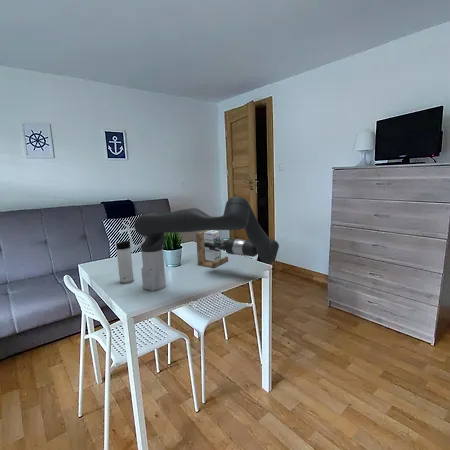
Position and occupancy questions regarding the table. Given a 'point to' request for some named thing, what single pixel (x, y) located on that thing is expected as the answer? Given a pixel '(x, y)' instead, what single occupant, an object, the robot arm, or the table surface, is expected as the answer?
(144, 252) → the robot arm
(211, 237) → the syrup box
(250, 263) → the table surface
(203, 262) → the board
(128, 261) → the travel mug
